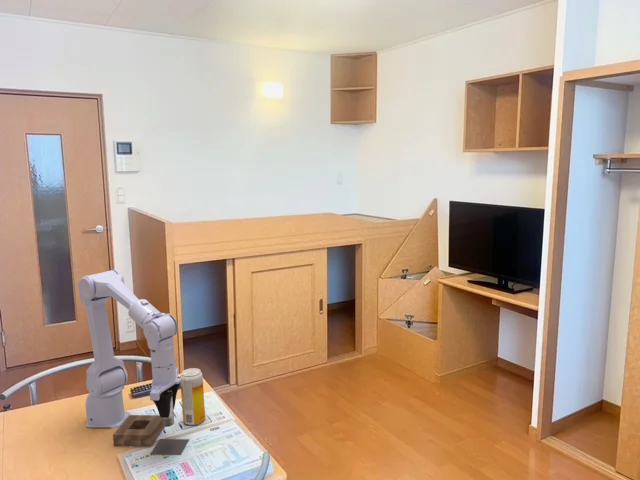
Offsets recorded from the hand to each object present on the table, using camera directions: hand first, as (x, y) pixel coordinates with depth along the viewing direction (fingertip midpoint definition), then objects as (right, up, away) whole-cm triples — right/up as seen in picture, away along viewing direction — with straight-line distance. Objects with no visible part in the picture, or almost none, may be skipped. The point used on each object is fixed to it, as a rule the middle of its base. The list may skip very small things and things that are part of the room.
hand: (167, 413), depth 127 cm
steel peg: (0, -3, +1) cm, 3 cm away
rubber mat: (0, -10, +2) cm, 10 cm away
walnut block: (-9, -9, +7) cm, 15 cm away
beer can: (+3, -8, +14) cm, 17 cm away
